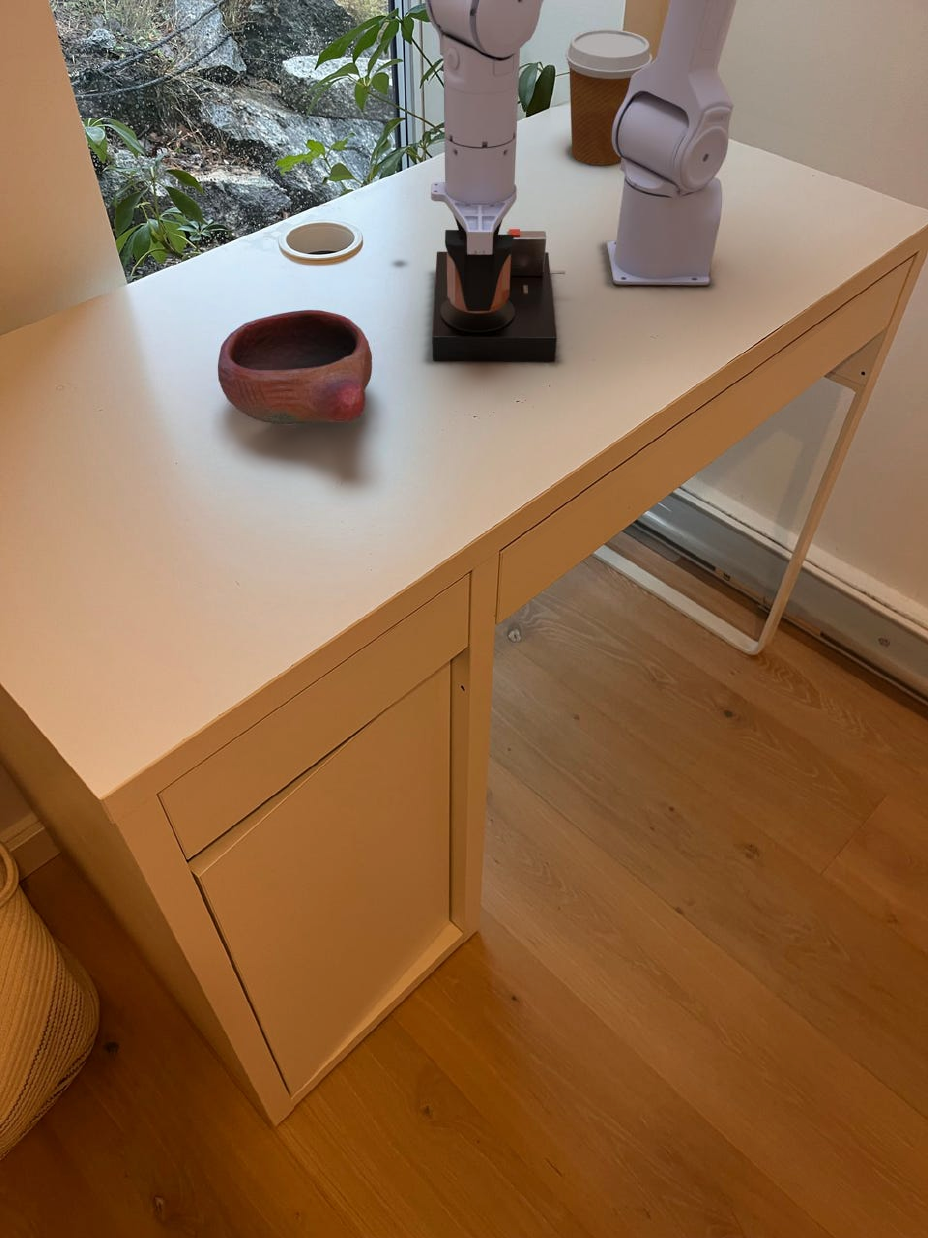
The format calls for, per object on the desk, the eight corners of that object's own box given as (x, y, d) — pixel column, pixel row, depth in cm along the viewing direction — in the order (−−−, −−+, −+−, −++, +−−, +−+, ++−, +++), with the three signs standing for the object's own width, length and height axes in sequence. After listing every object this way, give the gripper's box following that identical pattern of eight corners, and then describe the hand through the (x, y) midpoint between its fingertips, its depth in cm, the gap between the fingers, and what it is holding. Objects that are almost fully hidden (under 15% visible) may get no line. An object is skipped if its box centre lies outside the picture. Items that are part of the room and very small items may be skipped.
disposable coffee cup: (554, 168, 113) (562, 55, 104) (562, 134, 120) (571, 24, 111) (636, 174, 112) (652, 61, 103) (640, 139, 119) (655, 30, 110)
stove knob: (542, 268, 93) (545, 228, 90) (543, 276, 93) (546, 235, 90) (505, 268, 93) (507, 228, 90) (505, 275, 93) (507, 235, 89)
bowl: (194, 426, 81) (173, 343, 75) (285, 350, 89) (272, 268, 83) (356, 489, 76) (347, 405, 70) (437, 402, 84) (436, 319, 78)
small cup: (508, 281, 89) (510, 234, 86) (509, 314, 86) (511, 267, 82) (448, 281, 89) (447, 234, 86) (447, 314, 86) (446, 266, 82)
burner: (513, 292, 91) (514, 290, 91) (515, 333, 86) (515, 331, 86) (441, 292, 91) (441, 290, 91) (439, 332, 86) (439, 330, 86)
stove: (560, 275, 98) (562, 250, 96) (570, 361, 88) (572, 336, 86) (437, 274, 98) (436, 249, 96) (432, 360, 88) (432, 334, 86)
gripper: (432, 95, 81) (435, 248, 92) (426, 174, 72) (431, 335, 82) (516, 95, 81) (510, 249, 92) (522, 174, 72) (514, 335, 82)
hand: (478, 290), depth 87 cm, fingers closed on small cup, 5 cm apart
